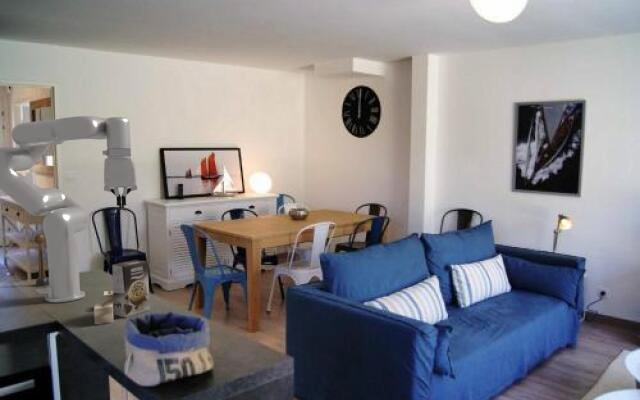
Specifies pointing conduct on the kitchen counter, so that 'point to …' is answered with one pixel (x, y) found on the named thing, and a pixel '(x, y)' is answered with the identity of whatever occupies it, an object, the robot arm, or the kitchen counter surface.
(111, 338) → the kitchen counter surface
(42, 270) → the wooden tabletop sculpture
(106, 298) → the marked block back
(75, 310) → the kitchen counter surface
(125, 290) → the coffee box
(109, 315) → the marked block front
